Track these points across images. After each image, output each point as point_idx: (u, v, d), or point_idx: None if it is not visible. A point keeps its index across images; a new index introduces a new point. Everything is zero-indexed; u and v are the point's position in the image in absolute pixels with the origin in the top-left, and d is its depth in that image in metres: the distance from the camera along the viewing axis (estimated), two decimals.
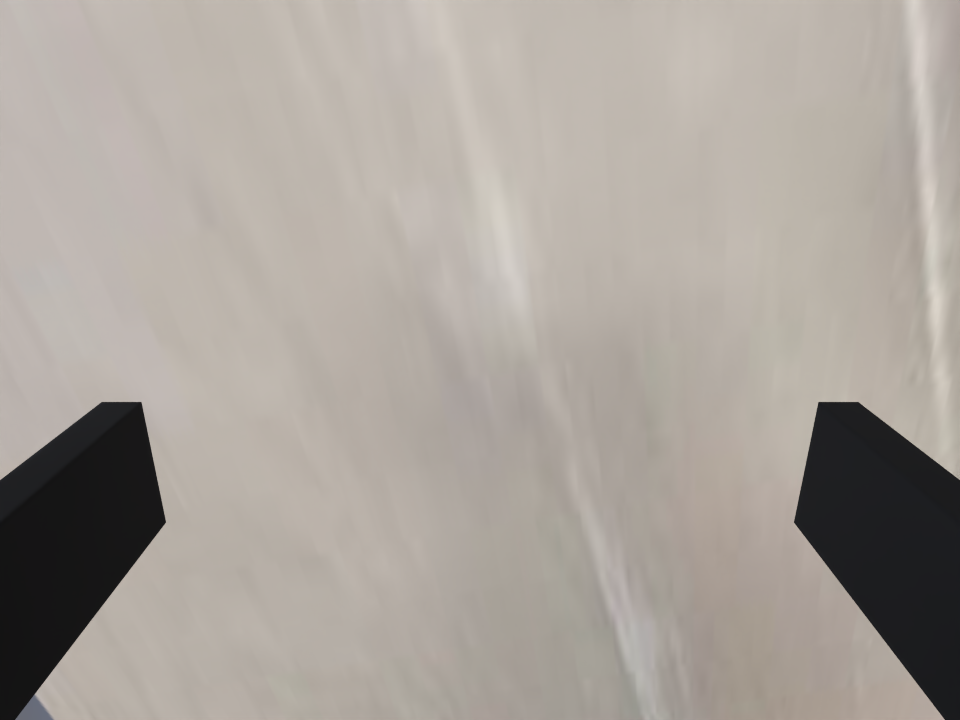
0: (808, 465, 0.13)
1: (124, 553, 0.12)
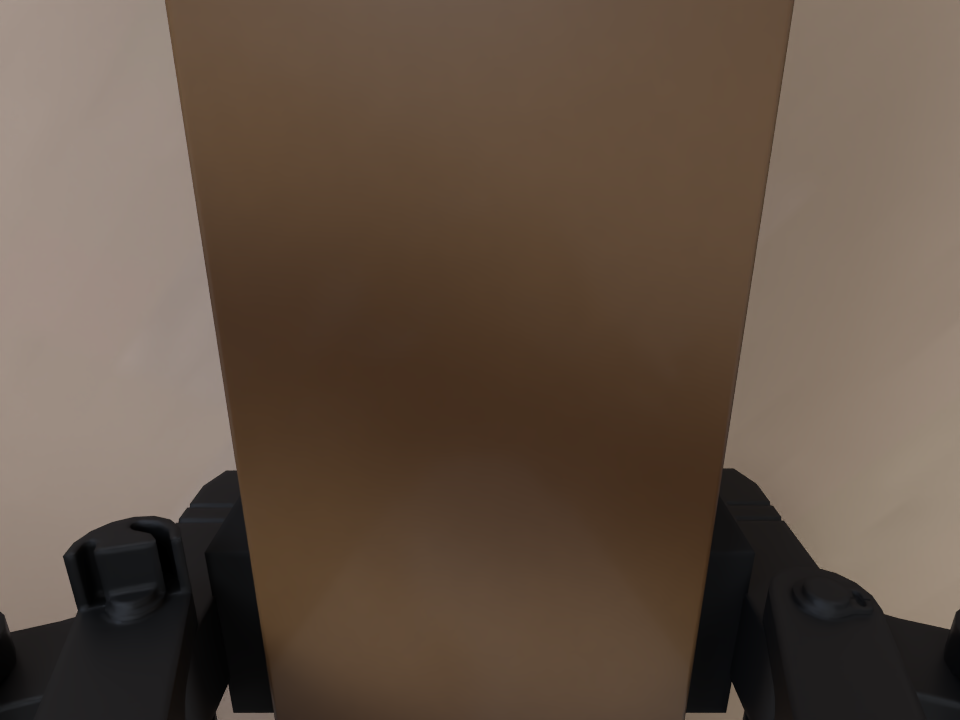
0: None
1: None
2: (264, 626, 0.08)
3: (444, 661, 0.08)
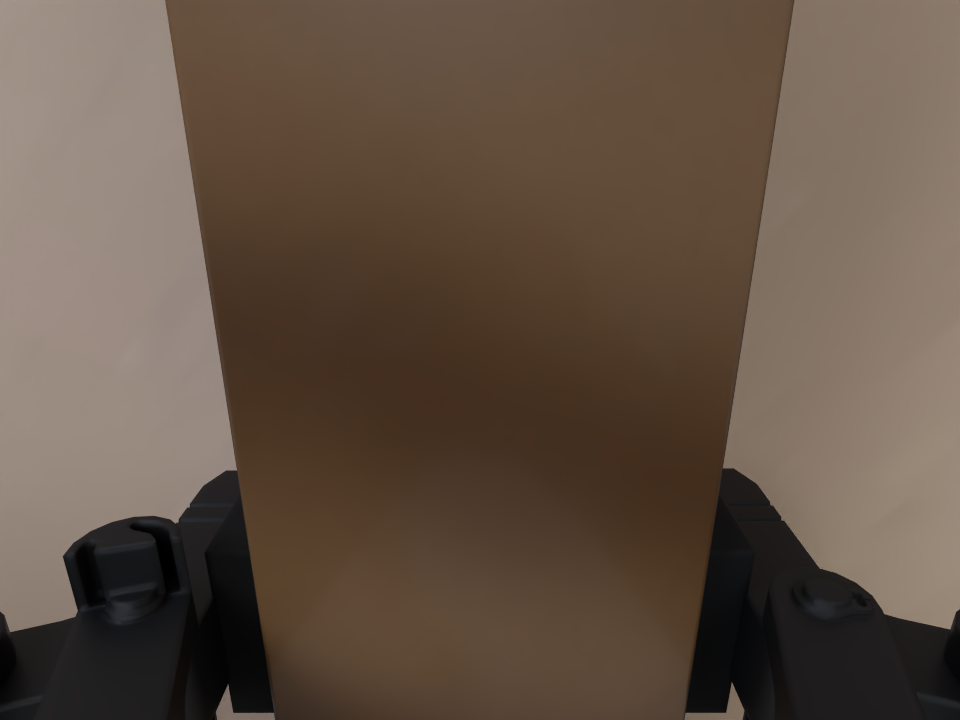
0: None
1: None
2: (264, 626, 0.08)
3: (444, 661, 0.08)
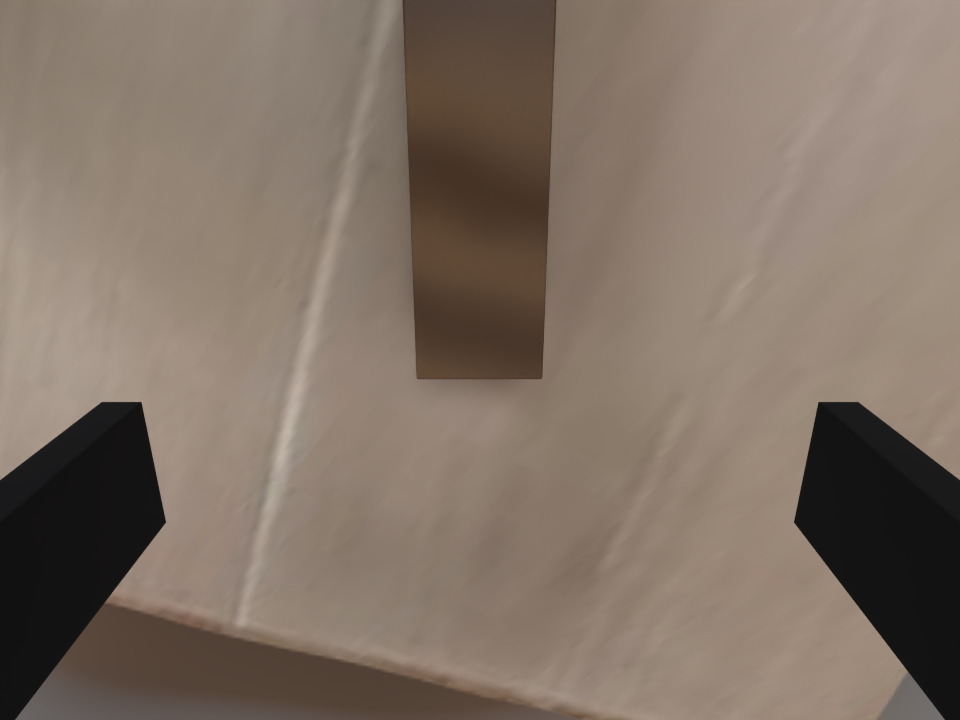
0: (807, 465, 0.13)
1: (124, 553, 0.12)
2: (414, 260, 0.26)
3: (468, 274, 0.26)
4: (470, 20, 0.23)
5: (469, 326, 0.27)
